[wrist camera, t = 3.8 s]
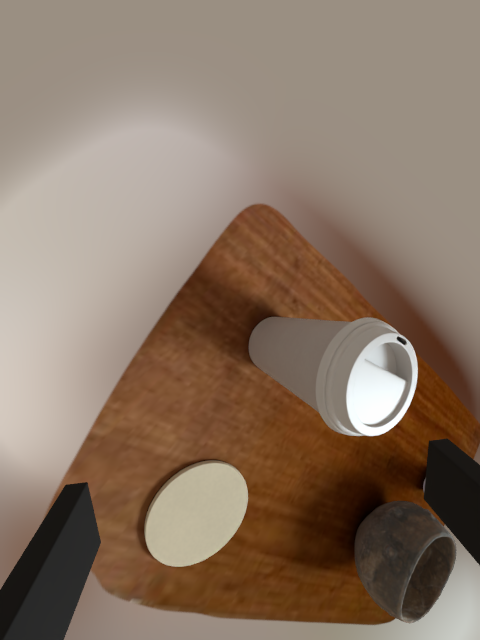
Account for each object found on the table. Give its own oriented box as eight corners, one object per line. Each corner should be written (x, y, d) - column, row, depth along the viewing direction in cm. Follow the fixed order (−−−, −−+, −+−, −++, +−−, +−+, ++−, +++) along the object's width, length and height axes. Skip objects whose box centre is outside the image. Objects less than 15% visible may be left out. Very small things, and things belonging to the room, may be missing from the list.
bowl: (323, 544, 45) (382, 611, 36) (383, 463, 49) (449, 505, 40) (358, 582, 50) (417, 648, 41) (409, 506, 54) (472, 551, 46)
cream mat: (130, 494, 30) (131, 498, 29) (235, 442, 35) (238, 444, 34) (159, 583, 33) (161, 589, 32) (253, 523, 38) (255, 527, 37)
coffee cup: (316, 341, 38) (437, 376, 25) (268, 398, 36) (374, 470, 23) (276, 286, 35) (395, 293, 21) (219, 346, 32) (314, 396, 19)
